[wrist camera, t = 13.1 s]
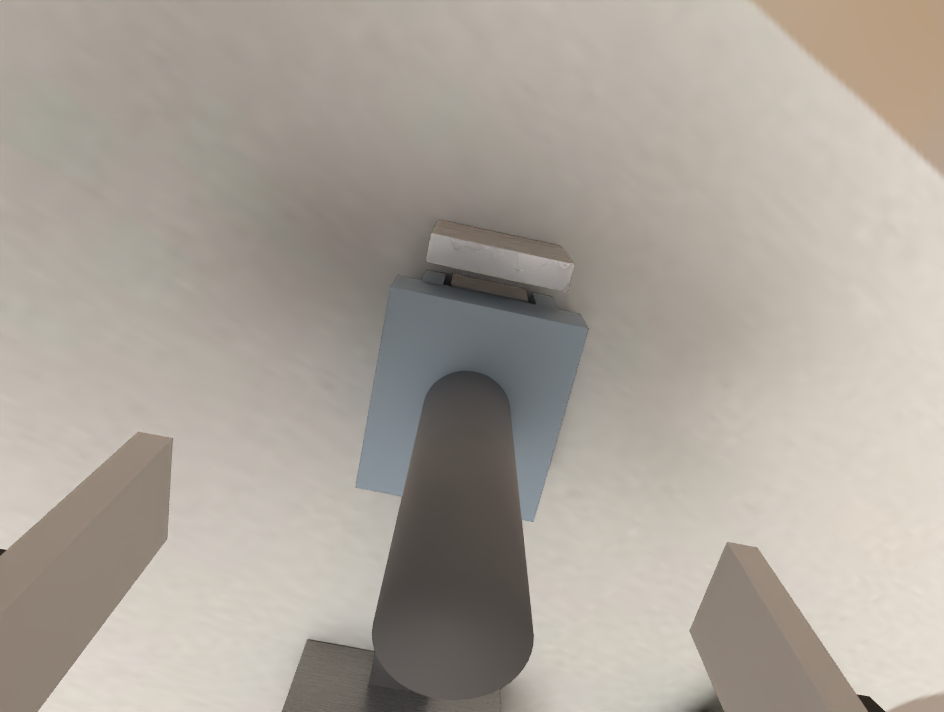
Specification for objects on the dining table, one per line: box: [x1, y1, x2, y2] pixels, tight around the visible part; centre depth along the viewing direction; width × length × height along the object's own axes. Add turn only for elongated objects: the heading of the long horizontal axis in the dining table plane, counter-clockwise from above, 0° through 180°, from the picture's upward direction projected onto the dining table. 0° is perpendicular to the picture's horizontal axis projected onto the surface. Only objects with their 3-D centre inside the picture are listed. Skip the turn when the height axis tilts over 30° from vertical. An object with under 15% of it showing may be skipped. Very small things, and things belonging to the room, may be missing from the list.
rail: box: [369, 220, 575, 692], centre depth 27 cm, size 22×5×4 cm, turn 168°
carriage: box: [356, 270, 589, 700], centre depth 19 cm, size 8×7×15 cm
